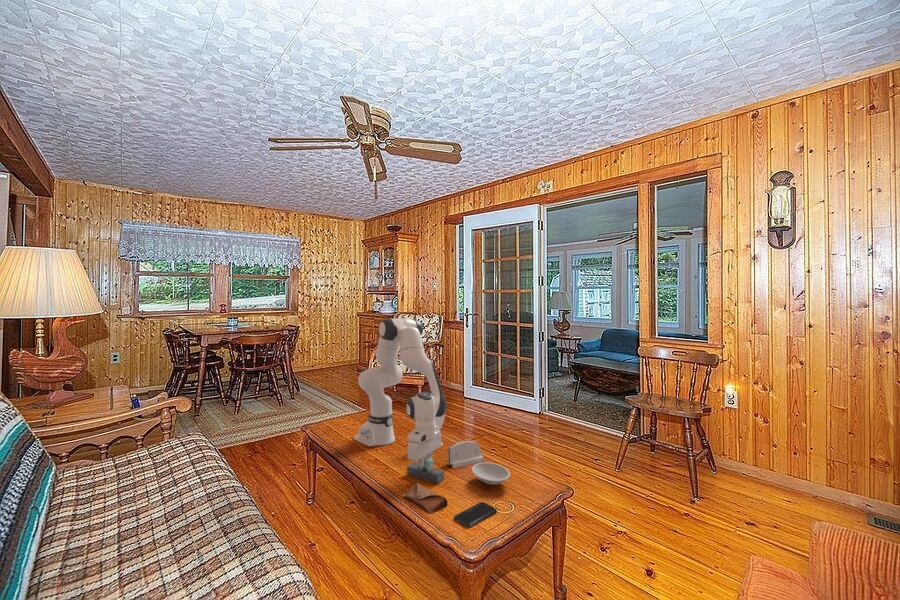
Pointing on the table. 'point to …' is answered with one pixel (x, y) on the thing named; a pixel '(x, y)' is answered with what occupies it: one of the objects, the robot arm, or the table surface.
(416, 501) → the sunglasses case
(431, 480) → the grey rectangular block
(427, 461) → the pale teal plug block
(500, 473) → the dish
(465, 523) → the phone
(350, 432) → the table surface
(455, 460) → the napkin holder
